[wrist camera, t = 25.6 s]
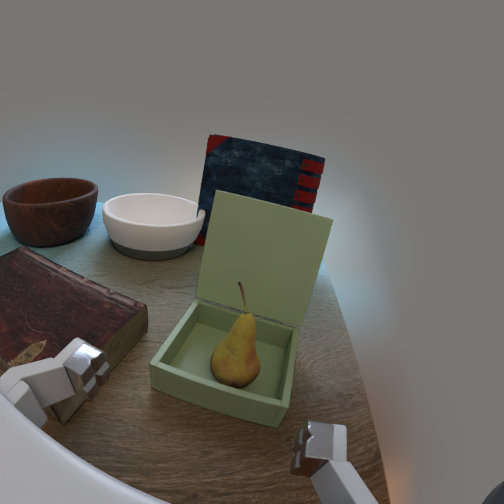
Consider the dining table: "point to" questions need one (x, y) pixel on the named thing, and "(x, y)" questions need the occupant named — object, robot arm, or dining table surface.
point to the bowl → (152, 225)
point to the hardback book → (61, 316)
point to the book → (257, 175)
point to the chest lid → (262, 256)
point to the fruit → (237, 353)
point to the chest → (199, 373)
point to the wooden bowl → (50, 210)
